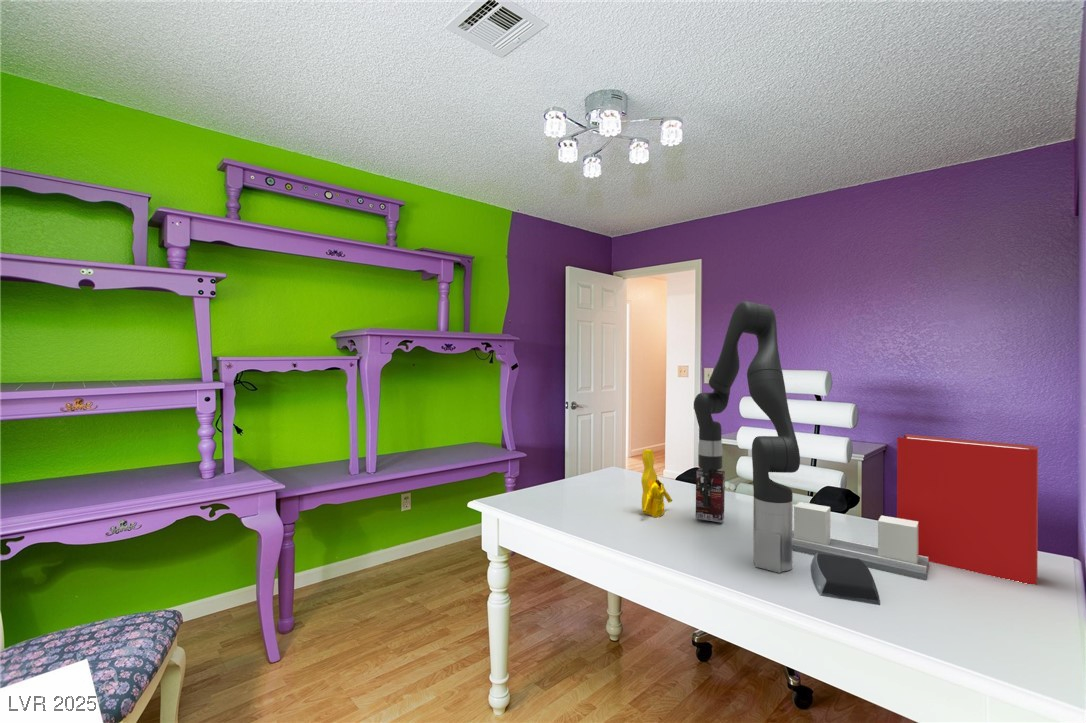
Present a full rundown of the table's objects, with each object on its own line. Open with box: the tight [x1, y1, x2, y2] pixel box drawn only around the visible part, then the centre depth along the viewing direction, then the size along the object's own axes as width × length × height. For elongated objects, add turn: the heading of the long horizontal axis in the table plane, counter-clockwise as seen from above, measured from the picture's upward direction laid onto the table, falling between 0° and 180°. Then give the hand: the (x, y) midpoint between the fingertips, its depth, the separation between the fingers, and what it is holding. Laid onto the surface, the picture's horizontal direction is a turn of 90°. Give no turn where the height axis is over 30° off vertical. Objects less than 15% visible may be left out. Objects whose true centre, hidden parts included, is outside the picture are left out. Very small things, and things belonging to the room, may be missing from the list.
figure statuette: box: [641, 448, 673, 518], centre depth 174 cm, size 18×8×22 cm, turn 136°
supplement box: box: [695, 468, 726, 523], centre depth 166 cm, size 9×5×16 cm, turn 62°
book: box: [896, 433, 1039, 585], centre depth 131 cm, size 27×8×32 cm, turn 44°
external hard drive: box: [810, 553, 881, 606], centre depth 121 cm, size 13×19×4 cm
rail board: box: [792, 501, 930, 581], centre depth 137 cm, size 12×32×12 cm, turn 50°
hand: (710, 504), depth 166 cm, fingers closed on supplement box, 5 cm apart
